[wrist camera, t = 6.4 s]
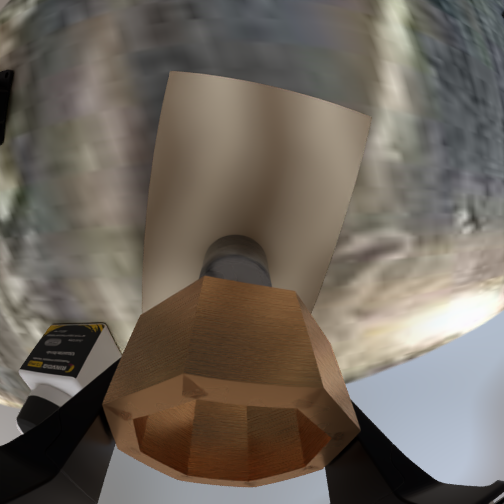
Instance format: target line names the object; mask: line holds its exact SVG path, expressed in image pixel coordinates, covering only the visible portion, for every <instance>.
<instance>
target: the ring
mask: <svg viewBox="0 0 504 504" xmlns="http://www.w3.org/2000/svg"><path fill="white" fill-rule="evenodd" d="M102 405H103V409H104V412H105V415H106V418H107V421H108V424H109V426H110V429H111V432H112V435H113V437H114V440H115V442H116V445H117V447H118V449H119V450H121V451H122V452H124V453H126V454H128V455H129V456H131V457H133V458H134V459H136V460H138V461H140V462H142V463H144V464H146V465H148V466H150V467H151V468H154V469H155V470H158V471H160V472H162V473H164V474H166V475H168V476H170V477H172V478H175V479H177V480H181V481H187V482H194V483H201V484H210V485H220V486H221V485H222V486H234V487H257V486H262V485H267V484H271V483H276V482H280V481H284V480H288V479H291V478H295V477H299V476H302V475H306V474H308V473H312V472H315V471H318V470H321V469H323V468H324V467H325V466H326V465H327V464H328V463H330V462H331V461H332V460H333V459H334V458H335V457H336V456H337V455H338V454H339V453H340V452H341V451H342V450H343V449H344V448H345V447H346V446H347V445H348V444H349V443H350V442H351V441H352V440H353V439H354V438H355V437H356V435H357V434H358V433H359V432H360V431H361V429H360V426H359V423H358V420H357V417H356V414H355V411H354V408H353V405H352V402H351V400H350V397H349V394H348V391H347V388H346V385H345V382H344V380H343V377H342V374H341V371H340V368H339V366H338V363H337V360H336V357H335V355H334V352H333V349H332V346H331V344H330V342H329V341H328V339H327V338H326V336H325V335H324V333H323V332H322V330H321V329H320V327H319V326H318V324H317V323H316V321H315V320H314V318H313V317H312V315H311V314H310V312H309V311H308V309H307V308H306V306H305V305H304V303H303V302H302V300H301V299H300V297H299V296H298V294H297V293H296V292H295V291H293V290H287V289H280V288H274V287H268V286H262V285H256V284H250V283H244V282H238V281H232V280H226V279H221V278H215V277H209V276H203V277H201V278H200V279H198V280H196V281H195V282H193V283H192V284H190V285H188V286H187V287H185V288H183V289H182V290H180V291H179V292H177V293H175V294H174V295H172V296H170V297H169V298H167V299H166V300H164V301H162V302H161V303H159V304H157V305H156V306H154V307H153V308H151V309H149V310H148V311H146V312H145V313H143V314H141V315H140V317H139V319H138V321H137V324H136V326H135V328H134V330H133V332H132V334H131V337H130V339H129V341H128V343H127V346H126V348H125V350H124V352H123V355H122V357H121V359H120V362H119V364H118V366H117V369H116V371H115V374H114V376H113V378H112V381H111V383H110V386H109V388H108V391H107V393H106V396H105V398H104V401H103V404H102Z"/></svg>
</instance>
